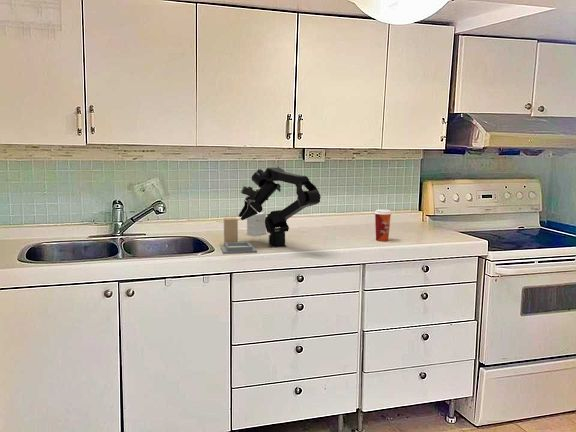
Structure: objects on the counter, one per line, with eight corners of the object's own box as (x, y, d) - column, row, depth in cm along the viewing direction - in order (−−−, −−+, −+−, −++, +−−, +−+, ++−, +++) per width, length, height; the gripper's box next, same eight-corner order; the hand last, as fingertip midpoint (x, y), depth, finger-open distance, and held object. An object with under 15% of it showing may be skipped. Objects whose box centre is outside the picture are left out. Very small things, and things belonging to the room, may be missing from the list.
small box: (257, 232, 280) (257, 211, 278) (266, 234, 276) (266, 212, 275) (246, 235, 274) (246, 213, 272) (255, 236, 270) (255, 214, 269)
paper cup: (384, 242, 257) (385, 212, 255) (370, 240, 262) (371, 210, 260) (393, 240, 262) (394, 210, 260) (379, 238, 268) (380, 208, 265)
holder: (252, 246, 247) (252, 241, 246) (256, 252, 235) (256, 247, 235) (220, 247, 244) (220, 242, 244) (223, 253, 232) (223, 248, 232)
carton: (236, 243, 253) (236, 217, 251) (237, 246, 248) (237, 219, 246) (224, 244, 252) (223, 217, 250) (225, 246, 247) (224, 219, 245)
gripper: (249, 178, 257) (225, 202, 256) (254, 181, 238) (228, 208, 238) (266, 194, 259) (242, 219, 259) (273, 199, 241) (247, 226, 241)
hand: (240, 217), depth 249 cm, fingers open, 9 cm apart
